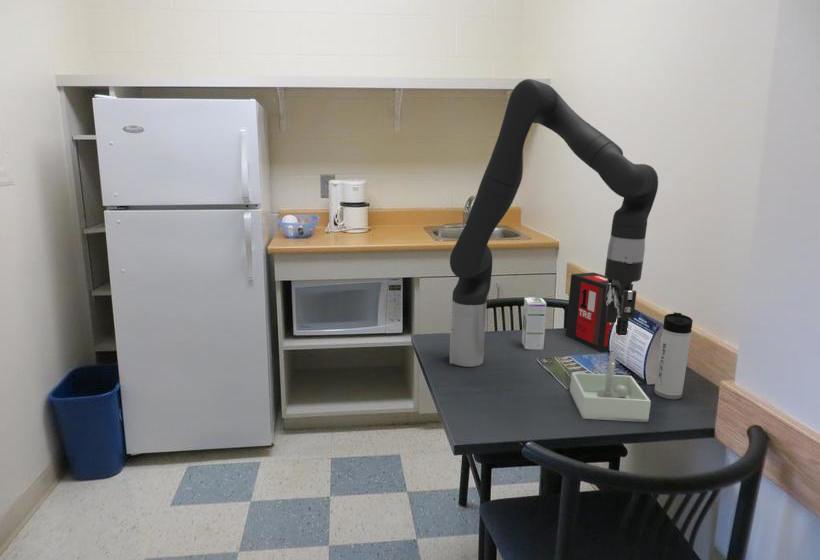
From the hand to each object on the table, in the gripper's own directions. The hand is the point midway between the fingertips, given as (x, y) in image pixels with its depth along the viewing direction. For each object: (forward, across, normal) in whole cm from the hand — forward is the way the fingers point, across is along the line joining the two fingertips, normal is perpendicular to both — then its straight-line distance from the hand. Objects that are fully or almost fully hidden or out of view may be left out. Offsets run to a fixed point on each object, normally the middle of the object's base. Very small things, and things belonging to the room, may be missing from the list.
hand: (615, 328), depth 130 cm
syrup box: (+20, -39, -12) cm, 45 cm away
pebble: (+18, -4, +5) cm, 19 cm away
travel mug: (+19, -9, +17) cm, 27 cm away
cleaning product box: (+20, -46, +8) cm, 51 cm away
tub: (+19, 0, 0) cm, 19 cm away
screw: (+19, 0, 0) cm, 19 cm away
